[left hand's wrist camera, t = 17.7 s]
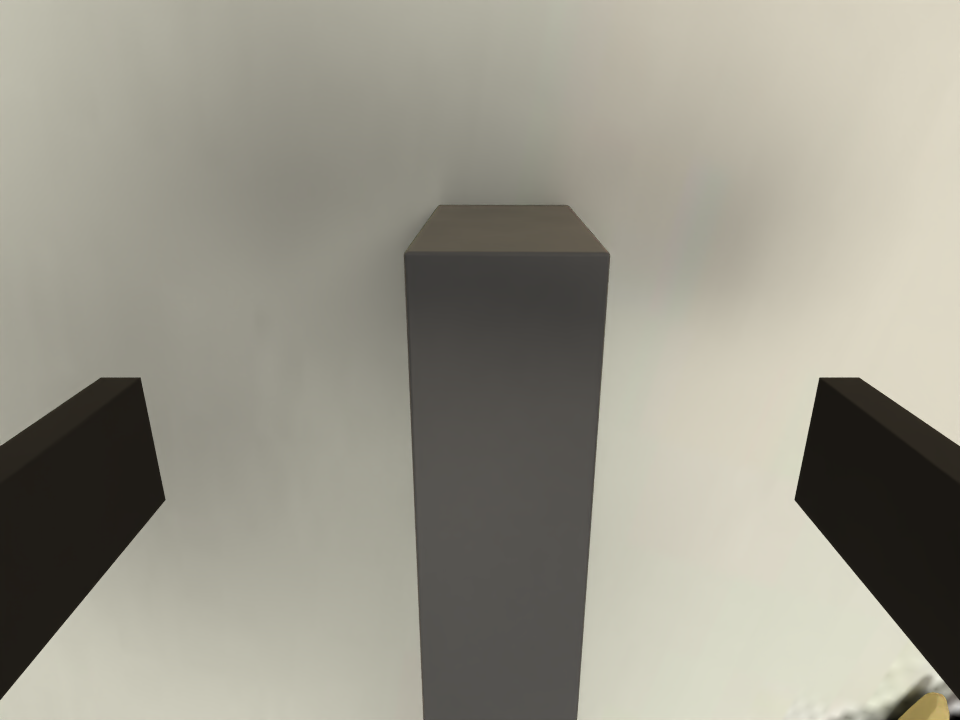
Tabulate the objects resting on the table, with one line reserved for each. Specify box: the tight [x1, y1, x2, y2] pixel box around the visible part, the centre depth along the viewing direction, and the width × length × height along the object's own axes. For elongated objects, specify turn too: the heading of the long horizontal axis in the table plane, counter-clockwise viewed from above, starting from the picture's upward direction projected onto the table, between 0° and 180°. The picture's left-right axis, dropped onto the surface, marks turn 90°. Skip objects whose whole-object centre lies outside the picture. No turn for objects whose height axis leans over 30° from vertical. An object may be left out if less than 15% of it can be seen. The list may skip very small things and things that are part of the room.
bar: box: [404, 205, 610, 720], centre depth 23 cm, size 28×5×9 cm, turn 0°
